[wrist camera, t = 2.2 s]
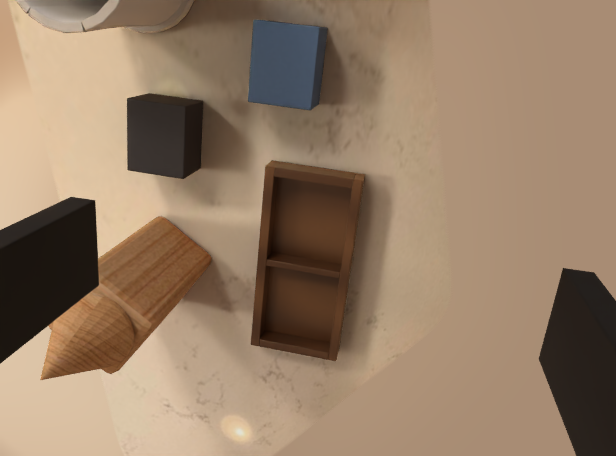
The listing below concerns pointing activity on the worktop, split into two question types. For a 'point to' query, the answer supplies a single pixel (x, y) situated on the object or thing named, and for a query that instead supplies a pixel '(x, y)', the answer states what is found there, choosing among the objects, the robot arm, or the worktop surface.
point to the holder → (305, 258)
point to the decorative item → (125, 300)
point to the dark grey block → (164, 135)
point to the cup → (107, 14)
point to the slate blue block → (286, 64)
